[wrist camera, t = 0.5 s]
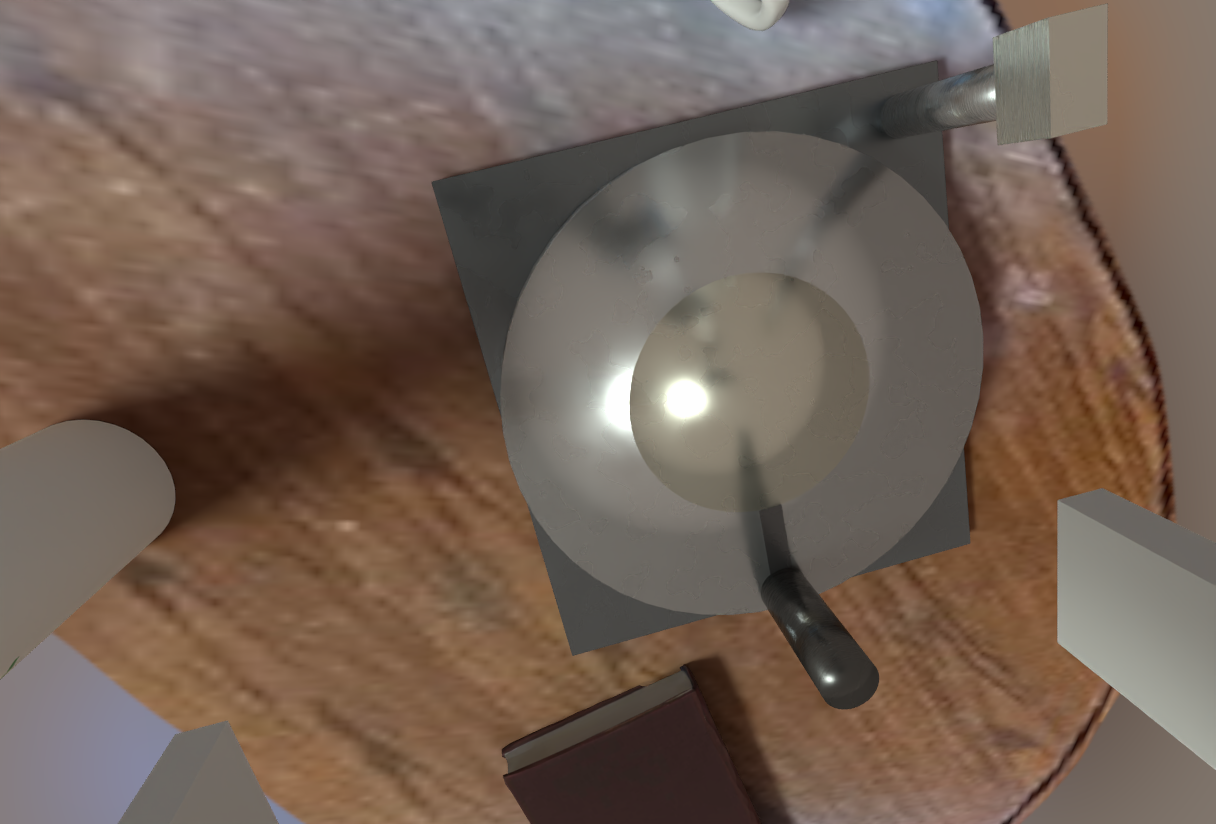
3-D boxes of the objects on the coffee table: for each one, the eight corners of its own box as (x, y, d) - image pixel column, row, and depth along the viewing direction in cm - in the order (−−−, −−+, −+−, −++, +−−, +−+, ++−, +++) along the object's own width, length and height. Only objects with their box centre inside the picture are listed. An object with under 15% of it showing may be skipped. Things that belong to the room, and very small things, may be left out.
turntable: (437, 204, 30) (403, 202, 21) (941, 82, 31) (1112, 31, 22) (569, 647, 38) (586, 786, 29) (971, 534, 39) (1109, 632, 30)
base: (434, 182, 31) (387, 167, 20) (924, 64, 32) (1136, -11, 21) (571, 644, 39) (592, 816, 28) (959, 535, 40) (1126, 658, 29)
